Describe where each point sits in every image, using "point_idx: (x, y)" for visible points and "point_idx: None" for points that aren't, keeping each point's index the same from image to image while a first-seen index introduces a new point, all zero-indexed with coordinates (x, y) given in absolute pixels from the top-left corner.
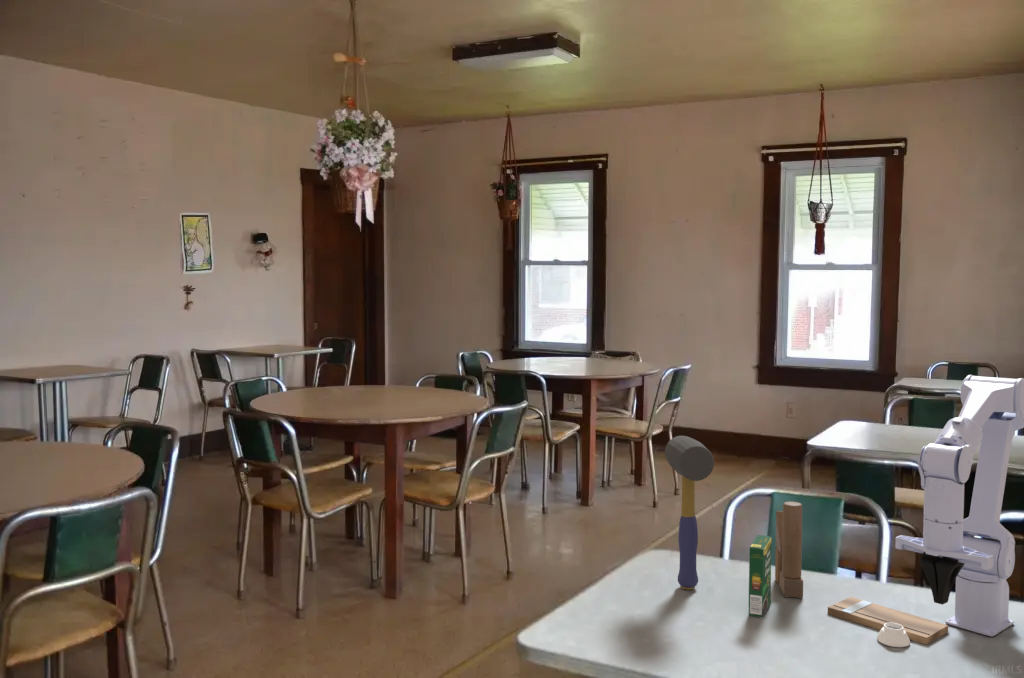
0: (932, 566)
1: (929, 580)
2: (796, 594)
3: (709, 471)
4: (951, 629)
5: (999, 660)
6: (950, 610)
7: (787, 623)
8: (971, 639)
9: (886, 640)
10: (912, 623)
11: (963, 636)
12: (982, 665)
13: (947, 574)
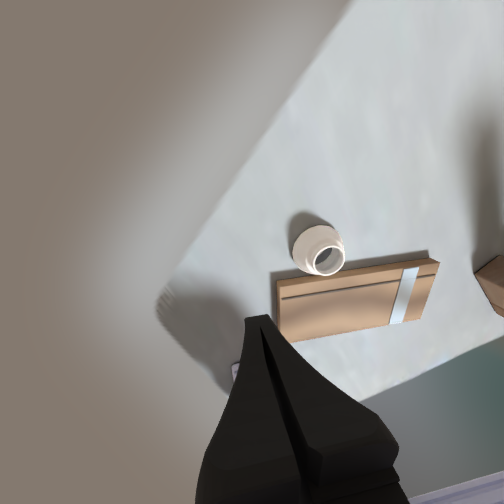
0: (308, 433)
1: (300, 360)
2: (488, 269)
3: None
4: None
5: (181, 317)
6: None
7: (478, 165)
8: None
9: (321, 229)
10: (318, 312)
11: None
12: (183, 285)
13: (224, 424)
